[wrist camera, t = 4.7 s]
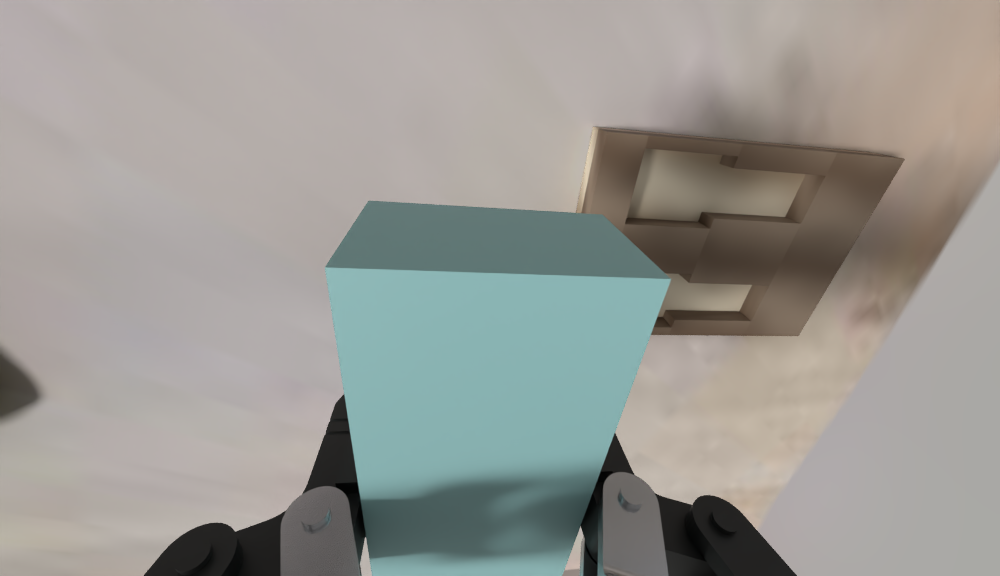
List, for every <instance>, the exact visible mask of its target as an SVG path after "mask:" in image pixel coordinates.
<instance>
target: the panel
mask: <svg viewBox="0 0 1000 576" xmlns="http://www.w3.org/2000/svg"><path fill="white" fill-rule="evenodd" d="M325 272H326V278H327V285H328V291H329V298H330V304H331V311H332V317H333V324H334V330H335V337H336V343H337V350H338V356H339V363H340V369H341V376H342V382H343V389H344V395H345V402H346V408H347V415H348V421H349V428H350V434H351V441H352V447H353V454H354V460H355V467H356V473H357V480H358V486H359V493H360V499H361V506H362V512H363V519H364V525H365V532H366V538H367V545H368V551H369V558H370V564H371V571H372V576H562V575H563V572H564V569H565V567H566V564H567V561H568V558H569V556H570V553H571V550H572V547H573V545H574V542H575V539H576V537H577V534H578V531H579V528H580V526H581V523H582V520H583V518H584V515H585V512H586V509H587V507H588V504H589V501H590V499H591V496H592V493H593V490H594V488H595V485H596V482H597V480H598V477H599V474H600V471H601V469H602V466H603V463H604V461H605V458H606V455H607V452H608V450H609V447H610V444H611V441H612V439H613V436H614V433H615V431H616V428H617V425H618V422H619V420H620V417H621V414H622V412H623V409H624V406H625V403H626V401H627V398H628V395H629V393H630V390H631V387H632V384H633V382H634V379H635V376H636V374H637V371H638V368H639V365H640V363H641V360H642V357H643V354H644V352H645V349H646V346H647V344H648V341H649V338H650V335H651V333H652V330H653V327H654V325H655V322H656V319H657V316H658V314H659V311H660V308H661V306H662V303H663V300H664V297H665V295H666V292H667V289H668V287H669V284H670V281H671V278H669V277H668V276H667V275H666V274H665V273H664V272H663V271H662V270H661V269H660V268H659V267H658V266H657V265H656V264H655V263H654V262H652V261H651V260H650V259H649V258H648V257H647V256H646V255H645V254H644V253H643V252H642V251H641V250H640V249H639V248H638V247H637V246H635V245H634V244H633V243H632V242H631V241H630V240H629V239H628V238H627V237H626V236H625V235H624V234H623V233H622V232H621V231H619V230H618V229H617V228H616V227H615V226H614V225H613V224H612V223H611V222H610V221H609V220H608V219H607V218H606V217H605V216H604V215H601V214H584V213H568V212H551V211H534V210H517V209H500V208H483V207H466V206H449V205H432V204H415V203H398V202H381V201H368V203H367V204H366V206H365V207H364V209H363V210H362V212H361V213H360V215H359V216H358V218H357V219H356V221H355V222H354V224H353V225H352V227H351V228H350V230H349V231H348V233H347V235H346V236H345V238H344V239H343V241H342V242H341V244H340V245H339V247H338V248H337V250H336V251H335V253H334V254H333V256H332V257H331V259H330V260H329V262H328V263H327V265H326V267H325Z"/></svg>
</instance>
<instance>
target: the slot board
mask: <svg viewBox="0 0 1000 576" xmlns="http://www.w3.org/2000/svg"><path fill="white" fill-rule="evenodd" d="M904 160H905V159H903V158H897V157H892V156H886V155H881V154H876V153H870V152H861V151H850V150H839V149H828V148H818V147H807V146H796V145H785V144H774V143H763V142H753V141H742V140H731V139H720V138H709V137H698V136H688V135H677V134H666V133H655V132H644V131H634V130H623V129H612V128H601V127H593V130H592V135H591V140H590V145H589V150H588V155H587V160H586V165H585V170H584V175H583V180H582V185H581V190H580V195H579V200H578V205H577V210H576V213H584V214H601V215H604V216H605V217H606V218H607V219H608V220H609V221H610V222H611V223H612V224H613V225H614V226H615V227H616V228H617V229H618V230H619V231H621V232H622V233H623V234H624V235H625V236H626V237H627V238H628V239H629V240H630V241H631V242H632V243H633V244H634V245H635V246H637V247H638V248H639V249H640V250H641V251H642V252H643V253H644V254H645V255H646V256H647V257H648V258H649V259H650V260H651V261H652V262H654V263H655V264H656V265H657V266H658V267H659V268H660V269H661V270H662V271H663V272H664V273H665V274H666V275H667V276H668V277H669V278H671V281H670V284H669V287H668V289H667V292H666V295H665V297H664V300H663V303H662V306H661V308H660V311H659V314H658V316H657V319H656V322H655V325H654V327H653V330H652V333H651V335H737V336H799V334H800V332H801V331H802V329H803V327H804V326H805V324H806V322H807V321H808V319H809V318H810V316H811V314H812V313H813V311H814V309H815V308H816V306H817V304H818V303H819V301H820V299H821V298H822V296H823V294H824V293H825V291H826V289H827V288H828V286H829V284H830V283H831V281H832V279H833V278H834V276H835V274H836V273H837V271H838V269H839V268H840V266H841V264H842V263H843V261H844V259H845V258H846V256H847V254H848V253H849V251H850V249H851V248H852V246H853V244H854V243H855V241H856V239H857V238H858V236H859V234H860V233H861V231H862V229H863V228H864V226H865V225H866V223H867V221H868V220H869V218H870V216H871V215H872V213H873V211H874V210H875V208H876V206H877V205H878V203H879V201H880V200H881V198H882V196H883V195H884V193H885V191H886V190H887V188H888V186H889V185H890V183H891V181H892V180H893V178H894V176H895V175H896V173H897V171H898V170H899V168H900V166H901V165H902V163H903V161H904Z"/></svg>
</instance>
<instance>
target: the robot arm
mask: <svg viewBox="0 0 1000 576" xmlns="http://www.w3.org/2000/svg"><path fill="white" fill-rule="evenodd" d="M581 528H582V531H583V535H584V536H583V539H582V543H581V557H580V576H797V575H796V574H795V573H794V572H793V571H792V570H791V569H790V568H789V566H788V565H787V564H786V563H785V562H784V561H783V559H781V557H780V556H779V555H778V554H777V553H776V551H774V549H773V548H772V547H771V546H770V545H769V544H768V543H767V541H766V540H765V539H764V538H763V537H762V536H761V535H760V533H759V532H758V531H757V530H756V529H755V528H754V527H753V525H752V524H751V523H750V522H749V521H748V520H747V519H746V517H745V516H744V515H743V514H742V513H741V512H740V511H739V510H738V509H737V508H736V507H734V506H733V505H732V504H730V503H729V502H727V501H725V500H723V499H721V498H719V497H715V496H710V495H704V496H700V497H699V498H697V499H696V500H695V502H694V503H693V505H690V504H687V503H683V502H679V501H676V500H672V499H668V498H665V497H662V496H659V495H657V494H655V493H654V491H653V490H652V489H651V487H650V486H649V485H648V484H647V483H646V482H644V481H643V480H642V479H640V478H639V477H637V476H635V475H634V473H633V471H632V469H631V467H630V465H629V463H628V460H627V458H626V456H625V454H624V452H623V449H622V447H621V445H620V443H619V441H618V438H617V436H616V434H615V433H614V436H613V439H612V441H611V444H610V447H609V450H608V452H607V455H606V458H605V461H604V463H603V466H602V469H601V471H600V474H599V477H598V480H597V482H596V485H595V488H594V490H593V493H592V496H591V499H590V501H589V504H588V507H587V509H586V512H585V515H584V518H583V520H582V523H581ZM365 537H366V532H365V525H364V519H363V512H362V506H361V499H360V493H359V486H358V480H357V473H356V467H355V460H354V454H353V447H352V441H351V434H350V428H349V421H348V415H347V408H346V402H345V395H343V396H342V397H341V398H340V399H339V400H338V401H337V403H336V404H335V407H334V410H333V413H332V416H331V418H330V422H329V424H328V427H327V430H326V435H325V436H324V438H323V441H322V444H321V447H320V450H319V453H318V455H317V458H316V461H315V464H314V467H313V470H312V473H311V475H310V478H309V481H308V484H307V486H306V488H305V490H304V492H303V494H302V495H301V496H299V497H298V498H297V499H296V500H295V501H294V502H293V503H292V504H291V505H290V506H289V507H288V509H287V510H286V511H284V512H283V513H282V514H280V515H278V516H276V517H274V518H272V519H270V520H267V521H264V522H262V523H259V524H256V525H253V526H250V527H248V528H245V529H242V530H239V531H237V532H235V531H234V530H233V529H232V528H231V527H230V526H228V525H226V524H223V523H209V524H205V525H202V526H199V527H196V528H194V529H192V530H190V531H188V532H187V533H185V534H183V535H182V536H180V537H179V538H178V539H176V540H175V541H174V542H173V543H172V544H171V545H170V546H168V548H167V549H166V550H165V551H164V552H163V553H162V554H161V555H160V557H159V558H158V559H157V560H156V561H155V563H154V564H153V565H152V566H151V567H150V569H149V570H148V571H147V572H146V573H145V575H144V576H362V574H361V567H360V561H361V555H362V550H363V545H364V539H365Z"/></svg>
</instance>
